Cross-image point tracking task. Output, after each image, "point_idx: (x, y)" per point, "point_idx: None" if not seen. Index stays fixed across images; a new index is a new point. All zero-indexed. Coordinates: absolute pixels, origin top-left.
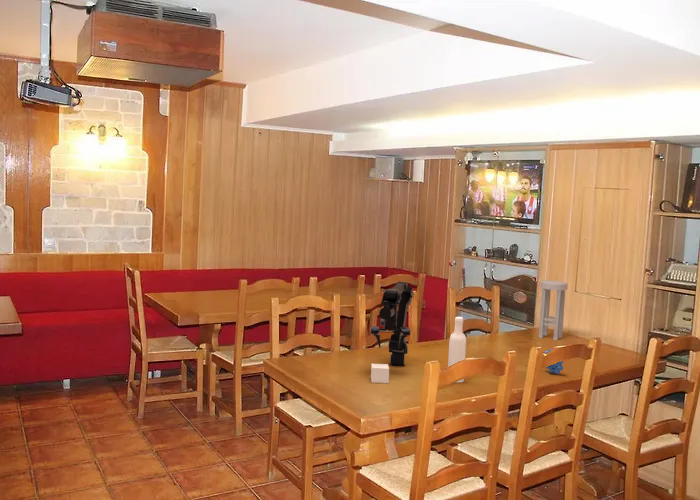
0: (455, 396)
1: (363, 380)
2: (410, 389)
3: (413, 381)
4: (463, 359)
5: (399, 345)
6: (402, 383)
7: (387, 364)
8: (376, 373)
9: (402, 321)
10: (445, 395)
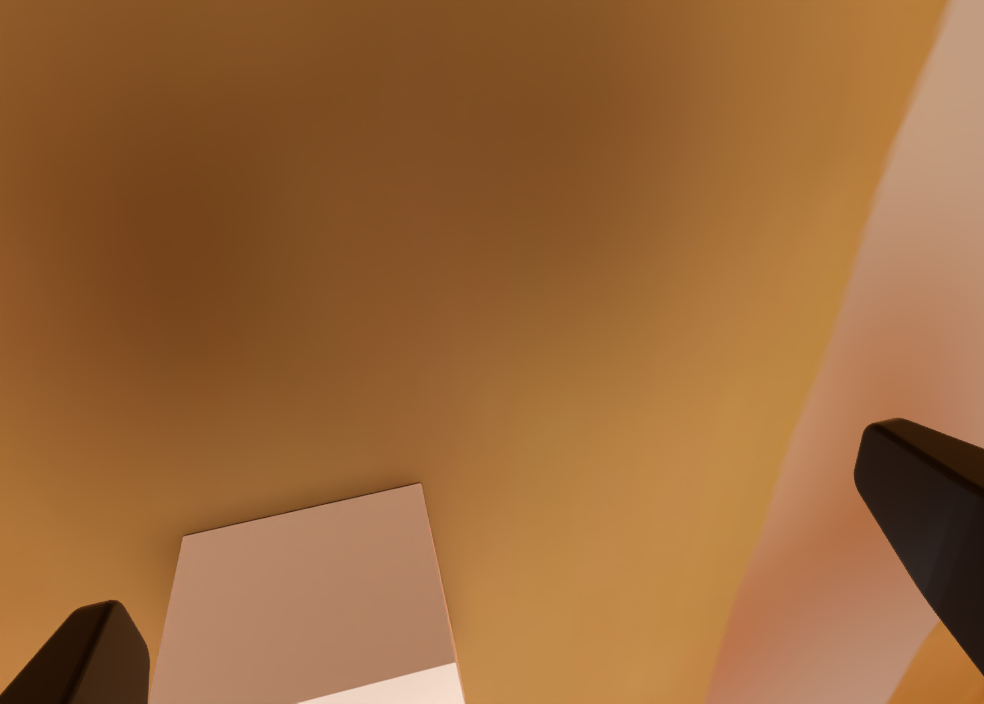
0: (971, 684)
1: None
2: (664, 688)
3: (743, 476)
4: None
5: (964, 622)
6: (607, 578)
7: (448, 679)
8: None
9: None
10: (908, 694)
